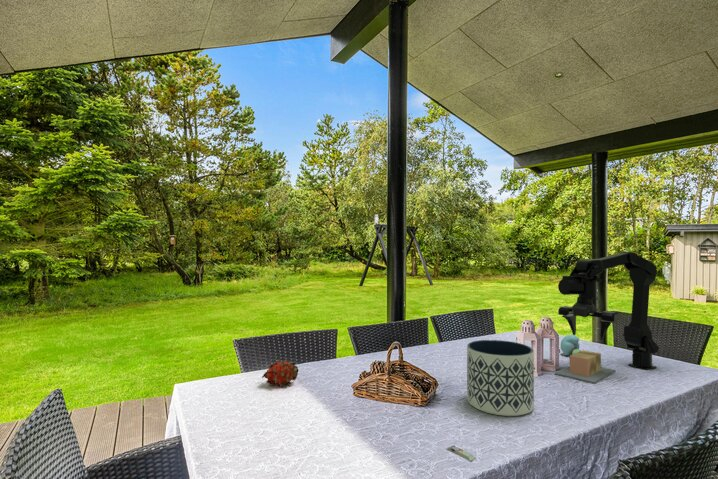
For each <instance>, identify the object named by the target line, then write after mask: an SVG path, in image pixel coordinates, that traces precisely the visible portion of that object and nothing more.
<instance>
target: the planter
mask: <svg viewBox="0 0 718 479" xmlns="http://www.w3.org/2000/svg"><path fill="white" fill-rule="evenodd" d="M534 353H535V352H534V349H533V348H532V347H531V346H529V345H526V344H523V343H519V342H515V341H509V340H501V339H500V340H498V339H481V340H474V341H471V342H468V343H467V345H466V382H467V383H466V384H467V385H466V394H467V395H466V400H467V402H468V403H469V404H470V405H471V406H472V407H473V408H475V409H477V410H479V411H481V412H483V413H487V414H489V415H495V416H501V417H518V416H519V417H520V416H523V415H526V414H529V413H531V412H532V411H533V410H534V409H535V376H534V375H535V372H534V371H535V367H534V366H535V364H534V360H535V359H534V358H535V357H534Z"/></svg>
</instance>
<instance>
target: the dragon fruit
mask: <svg viewBox="0 0 718 479" xmlns="http://www.w3.org/2000/svg"><path fill="white" fill-rule="evenodd" d="M283 361H284V362H283ZM283 361H279V360H278V361H275V362H274V363H273V364H270V365H269V368H268V369H266V372H264V374H263V375H262V377H261V378H262V379H264V378H265V379H267V380H265V382H266V384H268V385H271V386H272V385H273V386H279V385H280V388H282V387H283V386H285V385H286V386H288V385H290V383H291V381H295V380H297V377H298V374H299V371H300V370H299V369H298V368H299V367H298V366H297V365H295V363H294V362H290V361H288V360H286V359H283Z"/></svg>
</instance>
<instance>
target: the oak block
mask: <svg viewBox="0 0 718 479" xmlns="http://www.w3.org/2000/svg"><path fill="white" fill-rule="evenodd" d="M569 366H570V373H573V374H577V375H581V376H586V377H589V376H591V375H593V374H595V373H596V372H598V371H600V370H601V367H602V353H599V352H595V351H589V350H585V349H582V350H581V351H580V352H578V353H575V354H573V355H570V356H569Z"/></svg>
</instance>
